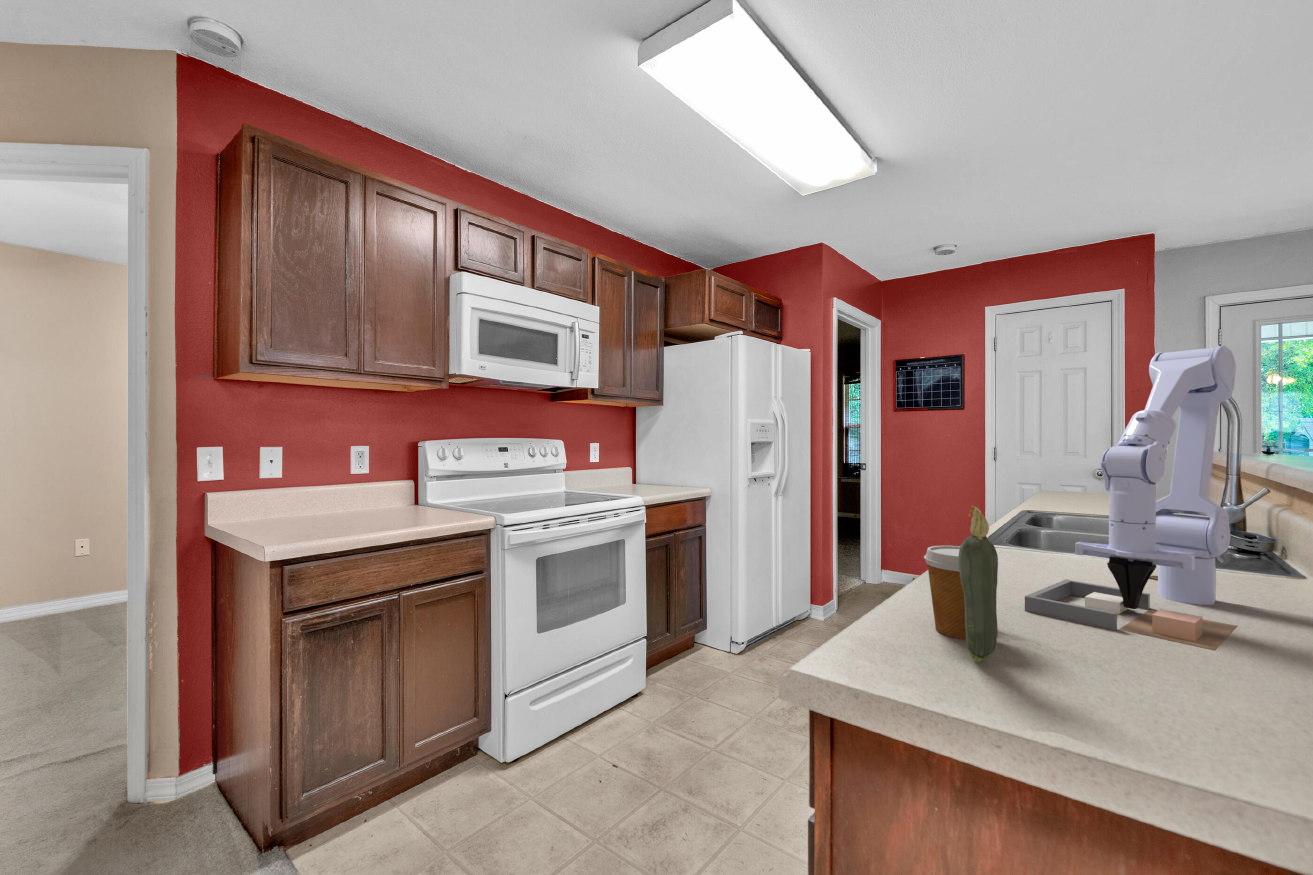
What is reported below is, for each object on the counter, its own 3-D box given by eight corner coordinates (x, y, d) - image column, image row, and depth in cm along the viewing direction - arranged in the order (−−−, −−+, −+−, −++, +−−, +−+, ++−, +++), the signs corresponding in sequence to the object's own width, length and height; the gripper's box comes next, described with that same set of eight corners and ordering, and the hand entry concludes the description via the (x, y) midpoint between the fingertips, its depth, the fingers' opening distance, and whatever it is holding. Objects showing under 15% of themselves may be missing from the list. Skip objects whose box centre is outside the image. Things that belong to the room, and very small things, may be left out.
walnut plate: (1149, 616, 92) (1149, 609, 92) (1237, 633, 84) (1237, 625, 84) (1118, 637, 83) (1118, 629, 83) (1214, 659, 75) (1214, 649, 75)
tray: (1065, 598, 102) (1066, 579, 102) (1149, 615, 93) (1149, 593, 93) (1024, 617, 92) (1024, 596, 92) (1114, 638, 82) (1114, 614, 82)
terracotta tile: (1160, 625, 84) (1160, 608, 84) (1202, 634, 81) (1202, 616, 81) (1152, 632, 82) (1152, 614, 82) (1194, 641, 78) (1195, 622, 78)
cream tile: (1094, 606, 96) (1094, 591, 96) (1127, 613, 93) (1127, 597, 93) (1084, 611, 94) (1085, 596, 94) (1119, 618, 90) (1119, 602, 90)
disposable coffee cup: (991, 648, 78) (991, 560, 78) (916, 633, 84) (917, 552, 84) (1000, 629, 86) (1000, 549, 86) (931, 617, 92) (931, 542, 92)
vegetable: (1003, 671, 71) (1003, 509, 71) (964, 668, 72) (965, 508, 72) (989, 657, 75) (990, 505, 75) (953, 654, 76) (954, 504, 76)
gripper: (1068, 518, 94) (1068, 600, 94) (1187, 529, 82) (1186, 624, 82) (1083, 514, 98) (1083, 593, 98) (1198, 525, 87) (1198, 615, 87)
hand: (1131, 607), depth 91 cm, fingers closed
